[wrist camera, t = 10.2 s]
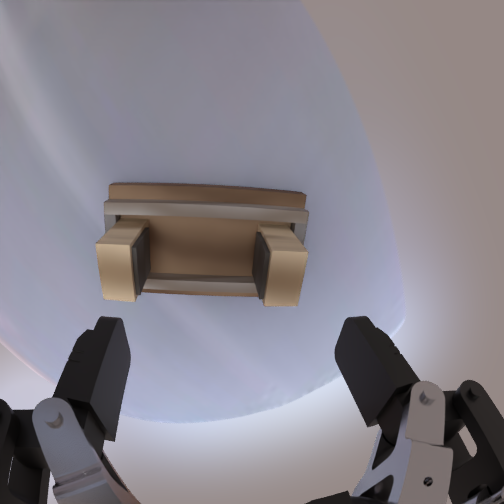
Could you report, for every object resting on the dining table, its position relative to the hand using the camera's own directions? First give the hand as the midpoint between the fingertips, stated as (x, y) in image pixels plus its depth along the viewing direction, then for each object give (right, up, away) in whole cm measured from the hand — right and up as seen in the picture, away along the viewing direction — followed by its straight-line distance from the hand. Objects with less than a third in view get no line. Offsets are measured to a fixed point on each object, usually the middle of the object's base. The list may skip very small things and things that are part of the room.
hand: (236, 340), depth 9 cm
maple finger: (+2, +3, +20) cm, 20 cm away
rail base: (-5, +4, +20) cm, 21 cm away
